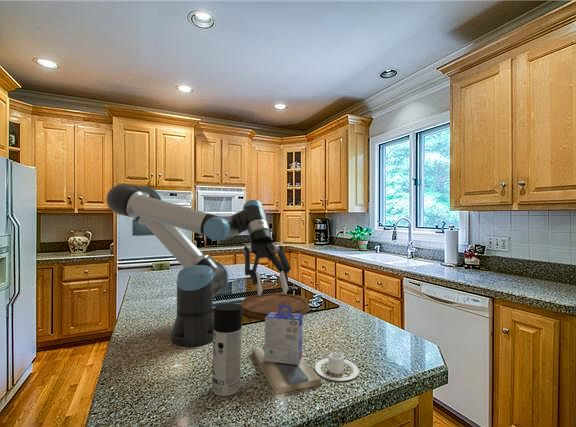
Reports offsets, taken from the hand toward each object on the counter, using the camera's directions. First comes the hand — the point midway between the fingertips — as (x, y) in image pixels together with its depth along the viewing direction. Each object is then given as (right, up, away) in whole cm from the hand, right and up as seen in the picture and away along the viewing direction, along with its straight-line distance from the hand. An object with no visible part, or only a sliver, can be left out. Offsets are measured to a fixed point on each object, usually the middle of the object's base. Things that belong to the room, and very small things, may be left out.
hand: (273, 291), depth 93 cm
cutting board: (-2, -19, +44) cm, 48 cm away
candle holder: (+18, -20, -10) cm, 28 cm away
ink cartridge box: (+3, -17, -9) cm, 19 cm away
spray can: (-10, -19, -19) cm, 29 cm away
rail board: (+3, -19, -9) cm, 21 cm away
